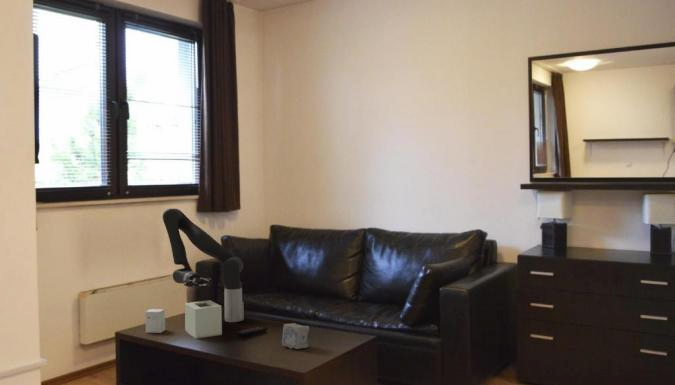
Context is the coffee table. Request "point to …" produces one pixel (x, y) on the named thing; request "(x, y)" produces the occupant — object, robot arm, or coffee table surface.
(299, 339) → the incense holder
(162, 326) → the small box
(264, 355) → the coffee table surface
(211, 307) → the box
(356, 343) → the coffee table surface
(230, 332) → the coffee table surface
